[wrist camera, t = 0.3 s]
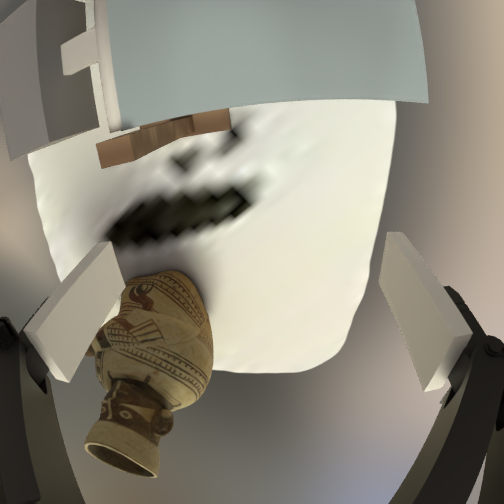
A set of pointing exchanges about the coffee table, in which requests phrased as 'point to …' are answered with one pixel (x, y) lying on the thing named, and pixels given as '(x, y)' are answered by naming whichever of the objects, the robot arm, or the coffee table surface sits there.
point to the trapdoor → (197, 60)
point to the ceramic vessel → (148, 369)
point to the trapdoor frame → (160, 136)
